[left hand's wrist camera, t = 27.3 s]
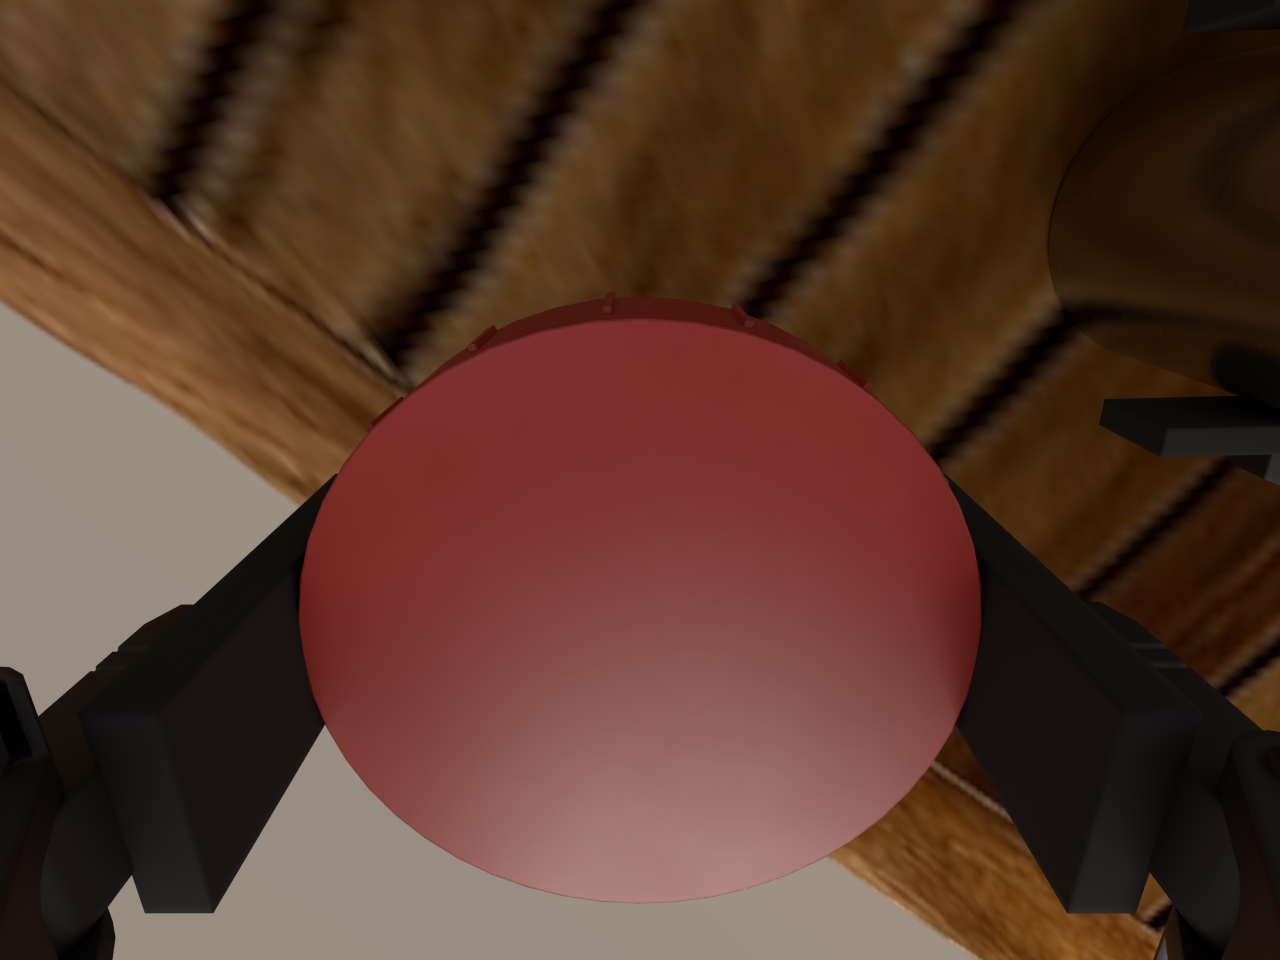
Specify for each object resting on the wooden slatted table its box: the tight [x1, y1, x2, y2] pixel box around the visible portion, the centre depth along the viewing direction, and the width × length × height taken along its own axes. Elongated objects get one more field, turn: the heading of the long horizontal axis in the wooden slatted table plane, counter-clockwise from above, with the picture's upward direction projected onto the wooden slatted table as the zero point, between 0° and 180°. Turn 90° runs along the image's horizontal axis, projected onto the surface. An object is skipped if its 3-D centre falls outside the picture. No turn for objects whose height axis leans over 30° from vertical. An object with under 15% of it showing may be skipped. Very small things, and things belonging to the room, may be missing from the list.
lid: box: [298, 292, 982, 903], centre depth 11 cm, size 10×10×2 cm
